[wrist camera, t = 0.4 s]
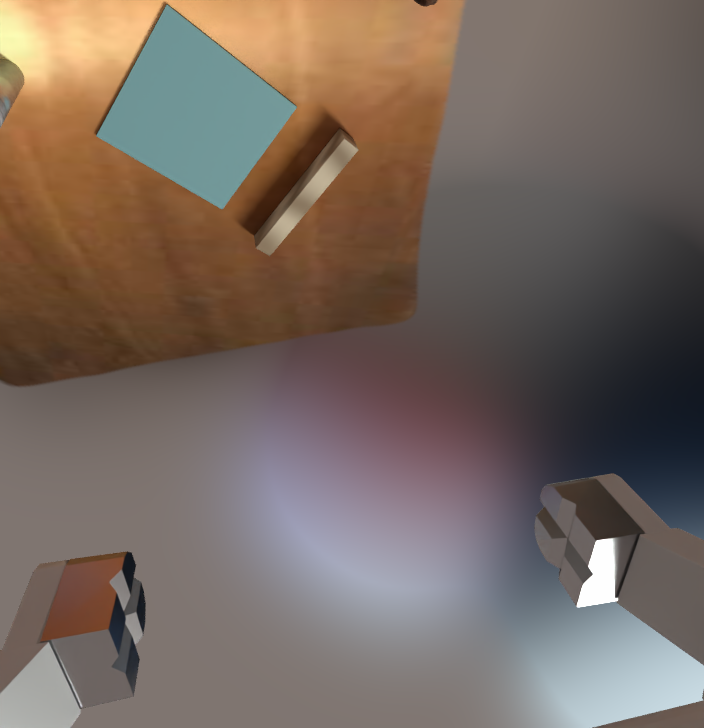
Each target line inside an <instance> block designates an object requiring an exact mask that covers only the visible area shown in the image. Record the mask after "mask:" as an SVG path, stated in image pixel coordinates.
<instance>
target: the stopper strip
mask: <svg viewBox="0 0 704 728" xmlns="http://www.w3.org/2000/svg"><path fill="white" fill-rule="evenodd" d="M357 151H358V148H357V146H356V143H355V141H354V139H353V138H351V137H350V136H349V135H348V134H346V133H345V132H344V131H343V130H341V129H339V130H338V131H337V132H336V134H335V135H334V136H333V137H332V139H331V140H330V141H329V142H328V144H327V145H326V146H325V147H324V149H323V150H322V151H321V153H320V154H319V155H318V156H317V158H316V159H315V160H314V161H313V163H312V164H311V165H310V166H309V168H308V169H307V170H306V171H305V173H304V174H303V175H302V176H301V178H300V179H299V180H298V181H297V183H296V184H295V185H294V186H293V188H292V189H291V190H290V192H289V193H288V194H287V195H286V197H285V198H284V199H283V200H282V202H281V203H280V204H279V205H278V207H277V208H276V209H275V210H274V212H273V213H272V214H271V215H270V217H269V218H268V219H267V220H266V222H265V223H264V224H263V225H262V227H261V228H260V229H259V231H258V232H257V233H256V234H255V236H254V238H255V245H256V248H257V249H258V250H260V251H262V252H264V253H266V254H267V255H269V256H270V255H271V254H272V253H273V252H274V251H275V249H276V248H277V247H278V246H279V245H280V243H281V242H282V241H283V240H284V239H285V237H286V236H287V235H288V234H289V233H290V231H291V230H292V229H293V228H294V227H295V225H296V224H297V223H298V222H299V221H300V219H301V218H302V217H303V216H304V215H305V213H306V212H307V211H308V210H309V209H310V207H311V206H312V205H313V204H314V203H315V201H316V200H317V199H318V198H319V197H320V195H321V194H322V193H323V192H324V191H325V189H326V188H327V187H328V186H329V185H330V183H331V182H332V181H333V180H334V179H335V177H336V176H337V175H338V174H339V173H340V171H341V170H342V169H343V168H344V167H345V165H346V164H347V163H348V162H349V161H350V159H351V158H352V157H353V156H354V155H355V153H356V152H357Z"/></svg>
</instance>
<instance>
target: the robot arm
mask: <svg viewBox="0 0 704 728" xmlns="http://www.w3.org/2000/svg"><path fill="white" fill-rule="evenodd" d="M540 500H541V502H542V503H543V505H544V506H545V507H544V508H543V509H542V510H541V511H540V512H539V513H538V514H537V515H536V521H535V527H534V529H535V535H536V541H537V543H538V546H539V548H540V550H541V552H542V554H543V555H544V557H545V559H546V560H547V561H548V562H549V563H551V564H553V565H554V566H556V567H558V568H559V569H560V571H559V580H560V582H561V583H562V585H563V586H564V588H565V589H566V591H567V593H568V594H569V595H570V597H571V599H572V600H573V602H574V603H575V605H576V606H577V607H580V606H586V605H592V604H598V603H603V602H609V601H615V600H617V603H618V604H619V605H621V606H622V607H623V608H625V609H626V610H628V611H629V612H630V613H632V614H633V615H634V616H636V617H637V618H639V619H640V620H641V621H643V622H644V623H646V624H647V625H648V626H650V627H651V628H653V629H654V630H655V631H657V632H658V633H660V634H661V635H662V636H664V637H665V638H667V639H668V640H669V641H671V642H672V643H673V644H675V645H676V646H678V647H679V648H680V649H682V650H683V651H685V652H686V653H688V654H689V655H690V656H692V657H693V658H695V659H696V660H697V661H699V662H700V663H701V664H703V665H704V540H702V539H700V538H698V537H696V536H694V535H691V534H689V533H687V532H685V531H683V530H680V529H678V528H675V529H670V528H669V527H668V526H667V525H666V524H665V523H664V522H663V521H662V520H661V519H660V518H659V517H658V516H657V515H656V513H655V512H653V510H652V509H651V508H649V506H648V505H647V504H646V503H645V502H644V501H643V500H642V499H641V498H640V497H639V496H638V495H637V494H636V493H635V492H634V491H633V490H632V489H631V488H630V487H629V486H628V485H627V484H626V483H625V482H624V481H623V480H622V479H621V478H620V477H619V476H617V475H615V474H608V475H602V476H597V477H591V478H584V479H578V480H572V481H566V482H561V483H554V484H548V485H545V487H544V488H543V489H542V491H541V496H540ZM135 568H136V564H135V561H134V558H133V555H132V553H131V552H121V553H113V554H105V555H98V556H90V557H84V558H75V559H70V560H65V561H57V562H50V563H43V564H40V565H39V566H38V567H37V568H36V569H35V570H34V572H33V574H32V576H31V578H30V581H29V583H28V586H27V588H26V591H25V593H24V596H23V598H22V601H21V604H20V606H19V609H18V611H17V614H16V616H15V619H14V621H13V623H12V626H11V628H10V631H9V634H8V636H7V639H6V641H5V644H4V646H3V648H2V650H0V728H70V727H71V726H72V724H73V723H74V721H75V720H76V719H77V717H78V716H79V714H80V713H81V710H80V709H82V708H86V707H90V706H95V705H99V704H104V703H108V702H112V701H117V700H121V699H125V698H130V697H133V696H134V691H135V685H136V679H137V673H138V667H139V660H140V659H139V655H138V653H137V649H136V646H135V645H136V644H137V642H138V641H139V640H140V639H141V638H142V636H143V634H144V627H145V611H146V609H145V607H146V603H145V597H144V590H143V587H142V583H141V582H140V581H139V580H137V579H136V578H134V573H135ZM702 698H703V700H704V691H703V697H702ZM593 728H704V701H700V702H696V703H692V704H688V705H684V706H679V707H675V708H672V709H667V710H663V711H659V712H655V713H651V714H647V715H643V716H638V717H635V718H630V719H626V720H622V721H618V722H614V723H610V724H606V725H602V726H598V727H593Z"/></svg>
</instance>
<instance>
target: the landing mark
mask: <svg viewBox="0 0 704 728" xmlns="http://www.w3.org/2000/svg"><path fill="white" fill-rule="evenodd" d="M296 108H297V106H295V105H294V104H293V103H292V102H290V101H289V100H288V99H287V98H285V97H284V96H283V95H282V94H280V93H279V92H278V91H276V90H275V89H274V88H273V87H271V86H270V85H269V84H268V83H266V82H265V81H264V80H263V79H261V78H260V77H259V76H257V75H256V74H255V73H254V72H252V71H251V70H250V69H249V68H247V67H246V66H245V65H244V64H242V63H241V62H240V61H238V60H237V59H236V58H235V57H233V56H232V55H231V54H230V53H228V52H227V51H226V50H225V49H223V48H222V47H221V46H219V45H218V44H217V43H216V42H214V41H213V40H212V39H211V38H209V37H208V36H207V35H205V34H204V33H203V32H202V31H200V30H199V29H198V28H197V27H195V26H194V25H193V24H192V23H190V22H189V21H188V20H186V19H185V18H184V17H183V16H181V15H180V14H179V13H178V12H176V11H175V10H174V9H173V8H171V7H170V6H169V5H166V7H165V9H164V10H163V12H162V14H161V16H160V18H159V20H158V22H157V24H156V25H155V27H154V29H153V31H152V33H151V35H150V37H149V38H148V40H147V42H146V44H145V46H144V48H143V50H142V51H141V53H140V55H139V57H138V59H137V61H136V63H135V64H134V66H133V68H132V70H131V72H130V74H129V76H128V78H127V79H126V81H125V83H124V85H123V87H122V89H121V91H120V92H119V94H118V96H117V98H116V100H115V102H114V104H113V105H112V107H111V109H110V111H109V113H108V115H107V117H106V119H105V120H104V122H103V124H102V126H101V128H100V130H99V132H98V133H97V135H96V136H97V137H99V138H100V139H102V140H104V141H105V142H107V143H109V144H111V145H112V146H114V147H116V148H118V149H119V150H121V151H123V152H124V153H126V154H128V155H130V156H131V157H133V158H135V159H136V160H138V161H140V162H142V163H143V164H145V165H147V166H148V167H150V168H152V169H154V170H155V171H157V172H159V173H160V174H162V175H164V176H166V177H167V178H169V179H171V180H172V181H174V182H176V183H178V184H179V185H181V186H183V187H185V188H186V189H188V190H190V191H191V192H193V193H195V194H197V195H198V196H200V197H202V198H203V199H205V200H207V201H209V202H210V203H212V204H214V205H215V206H217V207H219V208H221V209H223V208H224V206H225V205H226V204H227V202H228V201H229V199H230V198H231V197H232V195H233V194H234V193H235V191H236V190H237V189H238V187H239V186H240V184H241V183H242V182H243V180H244V179H245V178H246V176H247V175H248V173H249V172H250V171H251V169H252V168H253V167H254V165H255V164H256V163H257V161H258V160H259V158H260V157H261V156H262V154H263V153H264V152H265V150H266V149H267V148H268V146H269V145H270V143H271V142H272V141H273V139H274V138H275V137H276V135H277V134H278V133H279V131H280V130H281V128H282V127H283V126H284V124H285V123H286V122H287V120H288V119H289V117H290V116H291V115H292V113H293V112H294V111H295V109H296Z"/></svg>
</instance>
